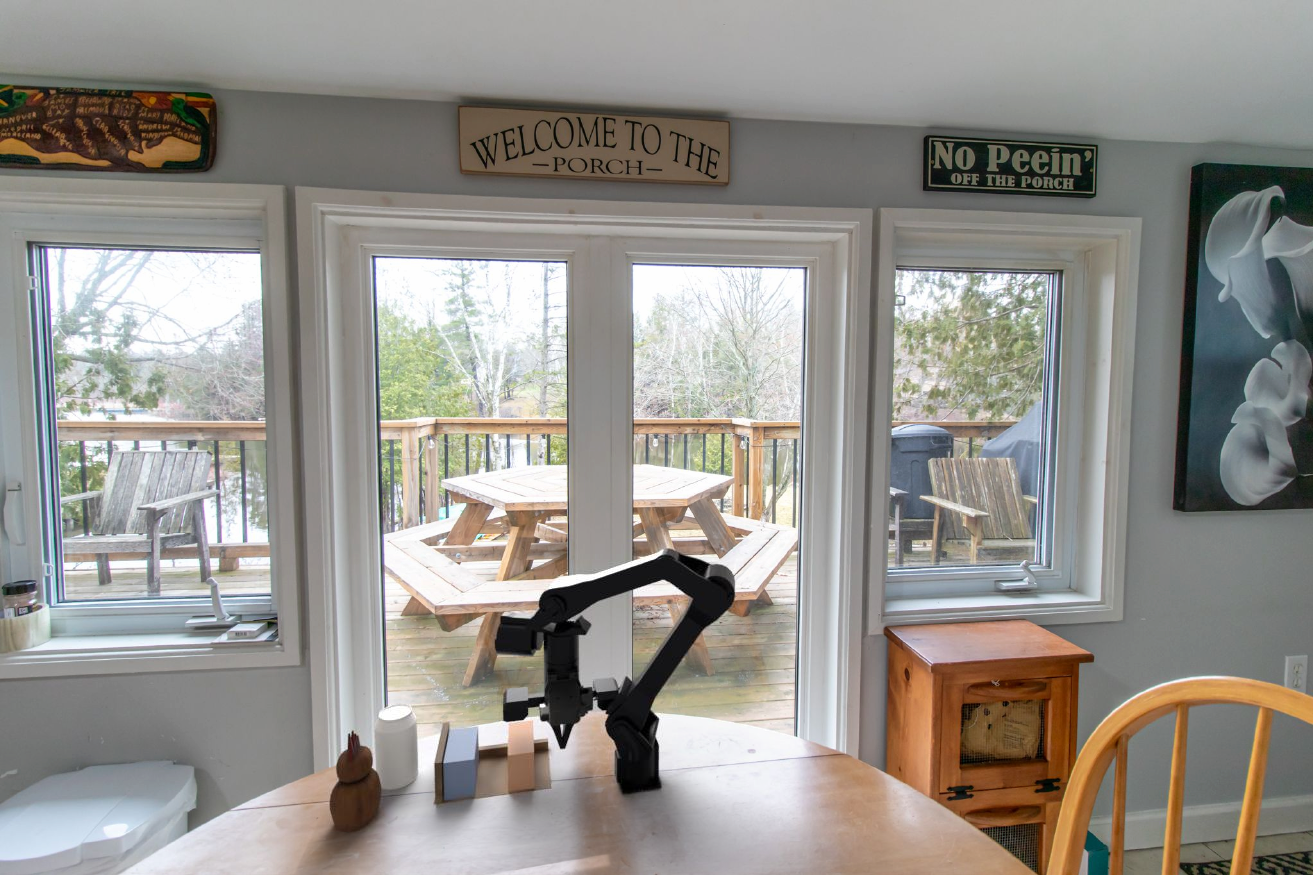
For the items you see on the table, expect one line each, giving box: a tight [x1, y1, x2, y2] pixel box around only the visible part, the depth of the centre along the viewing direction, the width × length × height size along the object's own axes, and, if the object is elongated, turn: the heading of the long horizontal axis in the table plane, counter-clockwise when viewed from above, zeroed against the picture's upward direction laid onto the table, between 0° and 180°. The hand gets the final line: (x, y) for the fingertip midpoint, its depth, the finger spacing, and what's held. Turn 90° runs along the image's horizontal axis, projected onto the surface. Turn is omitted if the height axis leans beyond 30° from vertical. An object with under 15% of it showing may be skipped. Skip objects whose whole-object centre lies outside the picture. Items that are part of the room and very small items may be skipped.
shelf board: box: [433, 721, 552, 806], centre depth 98 cm, size 18×11×8 cm, turn 103°
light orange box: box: [507, 720, 535, 792], centre depth 98 cm, size 4×9×6 cm, turn 13°
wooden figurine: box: [329, 730, 382, 833], centre depth 87 cm, size 7×6×15 cm
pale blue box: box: [443, 726, 480, 801], centre depth 96 cm, size 4×9×6 cm, turn 13°
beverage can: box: [373, 703, 419, 791], centre depth 96 cm, size 6×6×12 cm
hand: (562, 747), depth 99 cm, fingers closed
